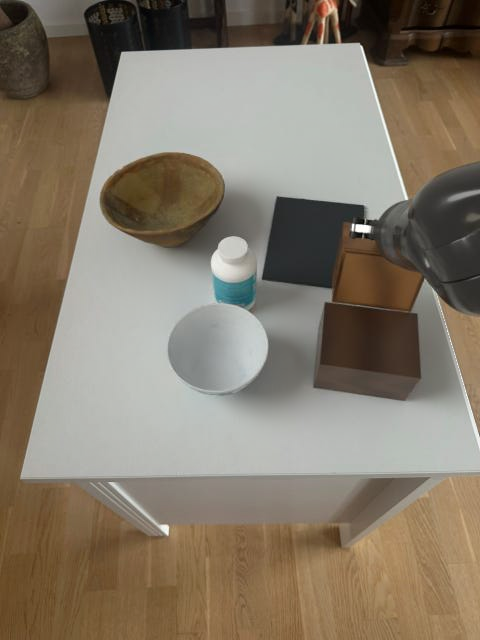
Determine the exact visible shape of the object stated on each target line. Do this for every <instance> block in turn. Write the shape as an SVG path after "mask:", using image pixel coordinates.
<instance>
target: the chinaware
mask: <svg viewBox="0 0 480 640" xmlns="http://www.w3.org/2000/svg"><path fill="white" fill-rule="evenodd" d="M166 342H167V343H166V357H167V361H168V364H169V366H170V368H171V370H172V372H173V373H174V375H175V376H176V377H177V378H178V379H179V380H180V381H181V383H183V384H185V386H186V387H188V388H189V389H191V390H193V391H195V392H197V393H199V394H203V395H206V396H216V397H217V396H220V397H221V396H228V395H233V394H234V393H237V392H239V391H241V390H243V389H244V388H247V387H248V386H249V385H250V384H251V383H252V382H254V380H255V379H256V378H258V376H259V375H260V373H261V372H262V371H263V368H264V367H265V364H266V362H267V359H268V355H269V349H270V348H269V345H270V344H269V338H268V333H267V331H266V328H265V327H264V325H263V323H262V322H261V321H260V320H259V319H258V318H257V317H256V316H255V315H254V314H253V313H252V312H250V310H248V311H247V310H245V309H243V308H241V307H239V306H236V305H232V304H225V303H216V302H214V303H207V304H204V305H200V306H198V307H195V308H193V309H191V310H190V311H188V312H187V313H185V314H183V316H181V317H180V318H179V319H178V320H177V322H176V323H175V324H174V325H173V326H172V328H171V330H170V333H169V336H168V338H167V341H166Z"/></svg>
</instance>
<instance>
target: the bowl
mask: <svg viewBox="0 0 480 640" xmlns="http://www.w3.org/2000/svg"><path fill="white" fill-rule="evenodd" d="M225 190H226V184H225V180H224V178H223V174H221V172H220V171H219V170H218V169H217V168H216V167H215V165H213V164H211V163H210V162H209V161H208V160H206V159H204V158H202V157H200V156H198V155H194V154H190V153H186V152H178V151H175V152H174V151H172V152H171V151H165V152H163V151H162V152H159V153H154V154H151V155H147V156H145V157H140V158H137V159H136V160H134V161H132V162H130V163H128V164H125V165H123V166H122V168H119V169H117V170H115V172H113V173H112V175H110V176H109V177H108V178H107V179H106V180H105V181H104V183H103V185H102V187H101V190H100V194H99V209H100V211H101V214H102V216H103V217H104V219H105V220H106V221H107V223H108V224H110V225H111V226H112V227H113V228H115V229H117V230H118V231H120V232H122V233H124V234H126V235H127V236H130V237H132V238H135V239H137V240H139V241H141V242H143V243H148V244H151V245H154V246H158V247H162V248H174V247H178V246H179V247H180V246H181V245H183V244H184V243H186V242H187V241H188V240H189V239H190V238H191V239H192V238H193V236H195V235H196V234H197V233H199V232H200V231H201V230H202V229H203V228H204V227H205V226H206V225H207V223H208V222H209V221H211V219H212V218H213V217H214V216H215V215H216V213H217V212H218V210H219V208H220V206H221V204H222V202H223V200H224V197H225V192H226V191H225Z"/></svg>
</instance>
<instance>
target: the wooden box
mask: <svg viewBox="0 0 480 640" xmlns="http://www.w3.org/2000/svg"><path fill="white" fill-rule="evenodd" d="M351 224H352V223H348V222H344V223H343V227H342V232H341V237H340V242H339V246H338V251H337V256H336V260H335V265H334V270H333V277H332V288H331V303H337V304H345V305H353V306H361V307H369V308H377V309H385V310H392V311H400V312H408V313H412V312H413V308H414V306H415V304H416V301H417V298H418V296H419V294H420V291H421V289H422V286H423V284H424V282H425V280H426V279H425V278H424V276H423V275H422V274H421V273H419V272H413V271H409V270H406V269H404V268H401V267H399V266H397V265H395V264H393V263H391V262H389V261H387V260H386V259H385V258H384V257H383V256H382V255H381V253H380V252H379V250H378V248H377V246H376V243H375V239H374V240H371V239H362V238H355V239H351V238H352V237H349V232H350V225H351Z"/></svg>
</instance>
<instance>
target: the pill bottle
mask: <svg viewBox="0 0 480 640" xmlns="http://www.w3.org/2000/svg"><path fill="white" fill-rule="evenodd" d="M210 270H211V276H212V279H211V280H212V286H213V294H214V295H213V296H214V301H215V303H225V304H232V305H236V306H239V307H241V308H243V309H245V310H247V311H250V310H251V309H252V308H253V307H254V305H255V304H256V302H257V285H258V283H257V282H258V281H257V279H258V272H257V271H258V259H257V256H256V254H255V252H254V251H253V250H252V249H251V248H250V247H249V244H248V242H247V241H246V240H245V239H243V238H242V237H240V236H235V235H234V236H233V235H231V236H228V237H225V238H223V239H222V240H221V241H219V243H218V246H217V249H216V250H215V251H214V252H213V254H212V256H211V258H210Z"/></svg>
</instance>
